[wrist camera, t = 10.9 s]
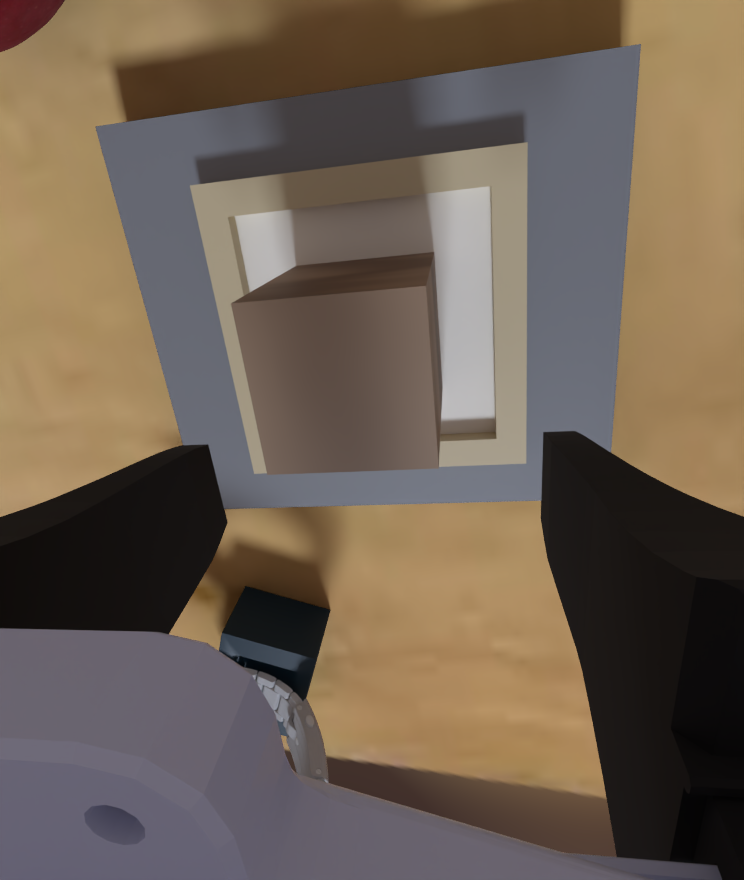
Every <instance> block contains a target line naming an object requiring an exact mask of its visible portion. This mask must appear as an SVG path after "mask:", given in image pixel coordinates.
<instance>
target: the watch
mask: <svg viewBox="0 0 744 880" xmlns="http://www.w3.org/2000/svg"><path fill="white" fill-rule="evenodd" d="M329 614H330V610H329V609H325V608H322V607H318V606H314V605H311V604H307V603H304V602H300V601H297V600H293V599H290V598H286V597H282V596H279V595H275V594H272V593H268V592H265V591H261V590H257V589H254V588H250V587H247V586H245V588H244V590H243V592H242V594H241V596H240V598H239V600H238V602H237V604H236V606H235V608H234V610H233V612H232V614H231V616H230V618H229V620H228V622H227V624H226V626H225V628H224V630H223V632H222V636H221V642H220V648H219V651H220V652H221V653H223V654H224V655H226V656H227V657H228V658H230V659H231V660H233V661H234V662H236V663H237V664H239V665H240V666H242V667H243V668H245V669H246V670H248V671H249V672H250V674H251V675H252V676H253V678H254V679H255V681H256V683H257V684H258V686H259V688H260V689H261V691H262V693H263V694H264V696H265V698H266V699H267V701H268V703H269V704H270V706H271V708H272V709H273V711H274V713H275V715H276V719H277V723H278V727H279V731H280V735H283V736H287V743H288V746H289V749H290V751H291V754H292V757H293V760H294V764H295V767H296V771H297V774H298V775H301V776H306V777H309V778H312V779H316V780H319V781H323V782H326V783H328V771H327V761H326V754H325V748H324V743H323V739H322V736H321V732H320V729H319V726H318V723H317V721H316V718H315V716H314V713H313V711H312V709H311V707H310V705H309V702H308V701H307V699H306V697H307V694H308V690H309V687H310V683H311V679H312V676H313V672H314V668H315V665H316V661H317V657H318V654H319V650H320V646H321V643H322V639H323V635H324V632H325V628H326V624H327V621H328V617H329Z"/></svg>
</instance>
